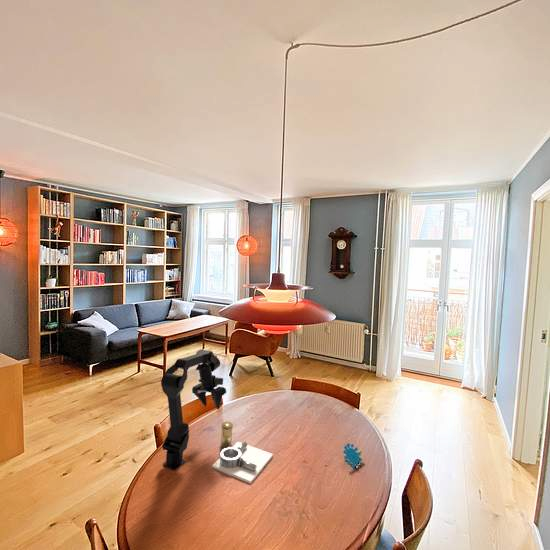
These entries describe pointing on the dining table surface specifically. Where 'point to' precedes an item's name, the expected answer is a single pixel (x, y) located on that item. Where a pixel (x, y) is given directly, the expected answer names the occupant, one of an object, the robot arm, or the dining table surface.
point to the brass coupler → (226, 434)
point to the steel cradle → (237, 460)
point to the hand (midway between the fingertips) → (211, 407)
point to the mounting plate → (250, 456)
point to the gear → (352, 455)
